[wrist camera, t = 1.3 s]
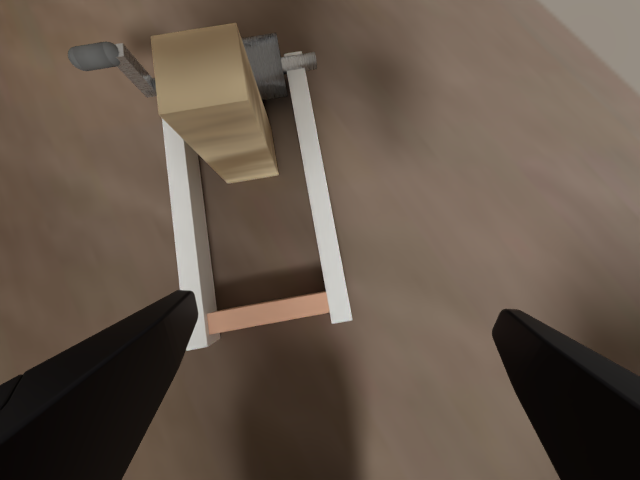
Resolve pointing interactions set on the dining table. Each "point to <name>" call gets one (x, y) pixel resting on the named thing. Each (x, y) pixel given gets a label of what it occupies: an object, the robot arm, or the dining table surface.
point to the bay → (191, 203)
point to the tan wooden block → (214, 101)
